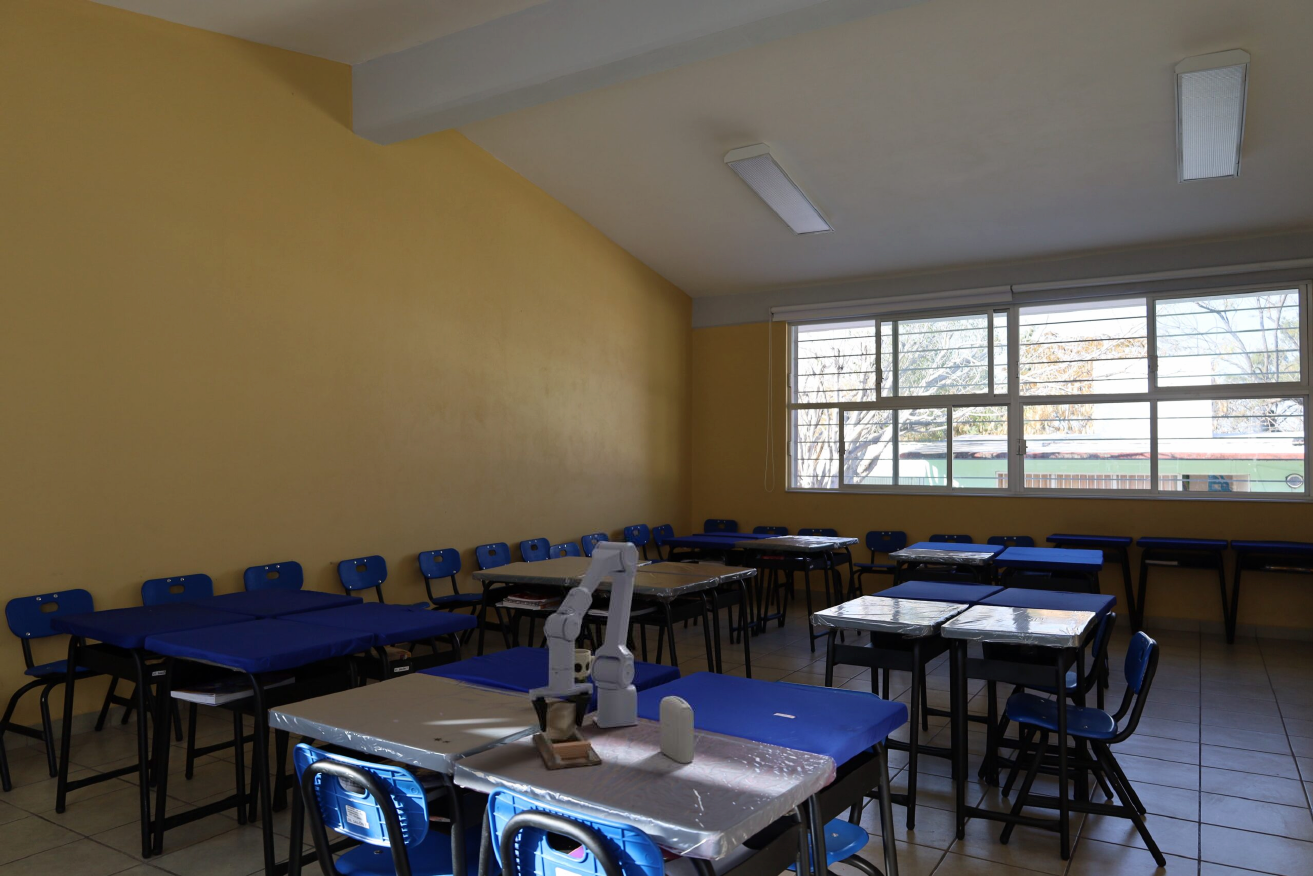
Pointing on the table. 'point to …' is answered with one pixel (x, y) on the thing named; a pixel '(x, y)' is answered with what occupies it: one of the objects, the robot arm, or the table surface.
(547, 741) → the rail
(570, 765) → the mounting board
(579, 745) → the tan wooden bar
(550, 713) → the block
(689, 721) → the photo printer
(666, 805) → the table surface
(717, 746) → the table surface
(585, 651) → the character mug
